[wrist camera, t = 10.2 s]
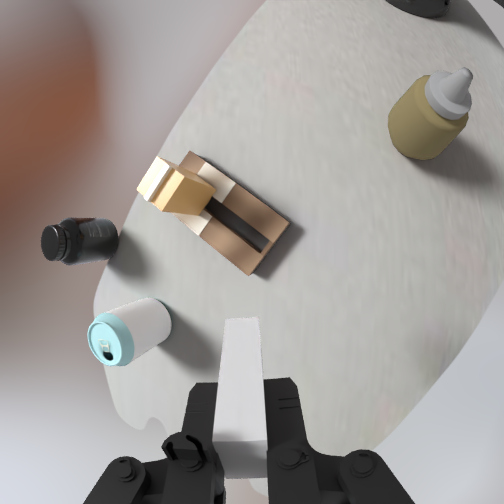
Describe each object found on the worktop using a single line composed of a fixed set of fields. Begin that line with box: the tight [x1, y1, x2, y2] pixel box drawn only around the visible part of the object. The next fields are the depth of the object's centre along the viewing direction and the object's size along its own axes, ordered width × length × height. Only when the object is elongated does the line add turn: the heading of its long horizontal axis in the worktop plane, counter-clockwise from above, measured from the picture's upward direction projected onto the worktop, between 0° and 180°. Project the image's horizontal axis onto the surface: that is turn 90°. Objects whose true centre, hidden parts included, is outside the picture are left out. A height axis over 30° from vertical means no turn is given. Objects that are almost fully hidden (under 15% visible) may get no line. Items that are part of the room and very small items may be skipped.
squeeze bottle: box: [388, 67, 473, 160], centre depth 22 cm, size 8×8×18 cm
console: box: [171, 151, 291, 276], centre depth 36 cm, size 16×8×3 cm, turn 53°
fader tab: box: [137, 156, 216, 216], centre depth 31 cm, size 4×4×11 cm
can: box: [88, 298, 171, 366], centre depth 35 cm, size 7×7×12 cm
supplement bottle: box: [41, 218, 118, 265], centre depth 36 cm, size 7×7×12 cm
